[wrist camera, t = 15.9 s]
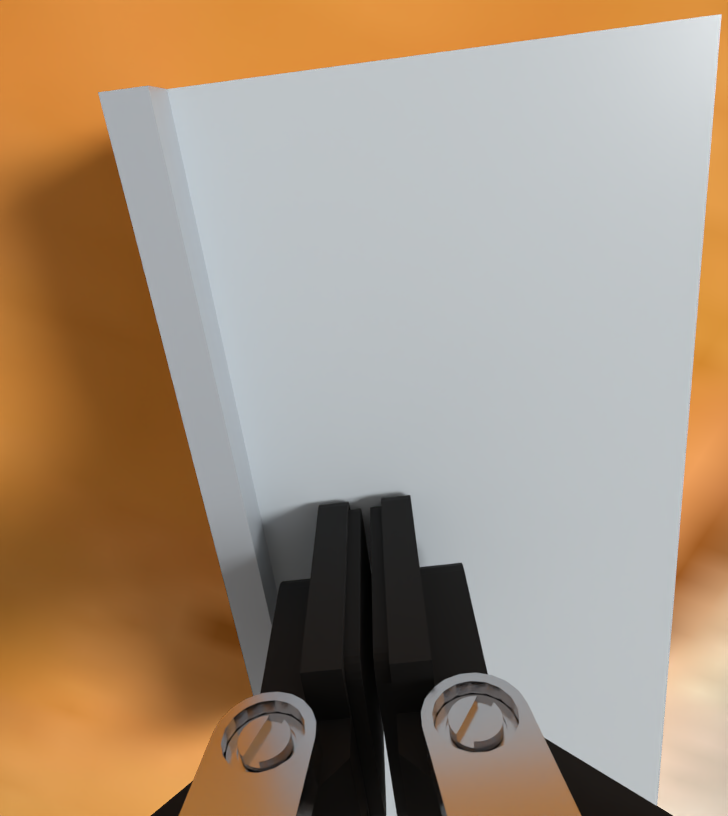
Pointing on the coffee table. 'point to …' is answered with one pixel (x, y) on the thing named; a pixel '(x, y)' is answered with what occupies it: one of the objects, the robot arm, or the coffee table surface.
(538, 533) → the lid
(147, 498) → the coffee table surface
